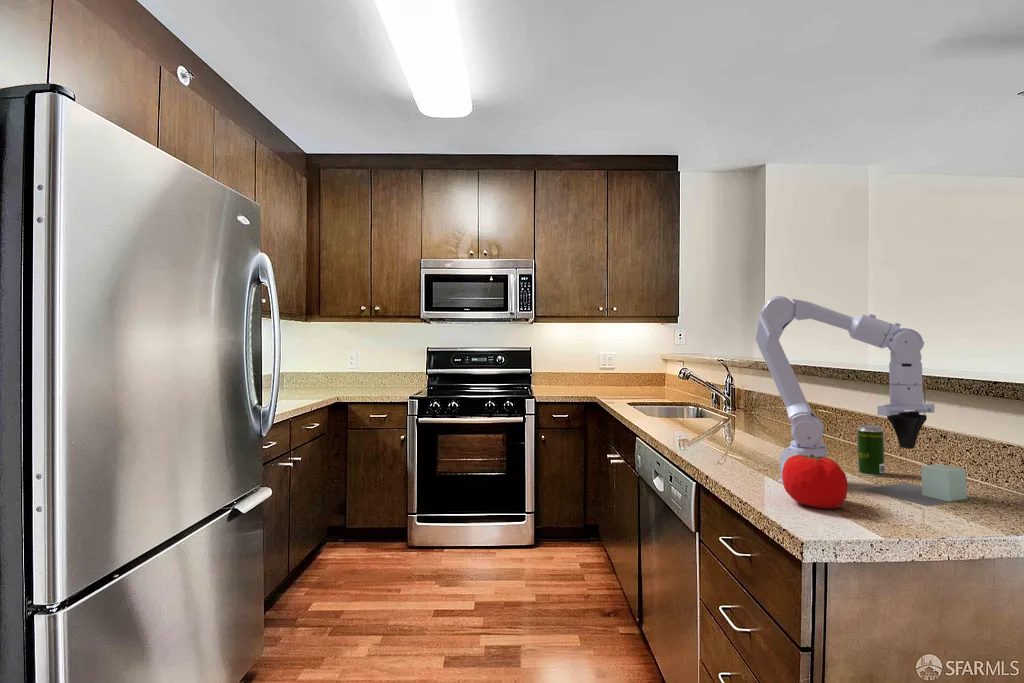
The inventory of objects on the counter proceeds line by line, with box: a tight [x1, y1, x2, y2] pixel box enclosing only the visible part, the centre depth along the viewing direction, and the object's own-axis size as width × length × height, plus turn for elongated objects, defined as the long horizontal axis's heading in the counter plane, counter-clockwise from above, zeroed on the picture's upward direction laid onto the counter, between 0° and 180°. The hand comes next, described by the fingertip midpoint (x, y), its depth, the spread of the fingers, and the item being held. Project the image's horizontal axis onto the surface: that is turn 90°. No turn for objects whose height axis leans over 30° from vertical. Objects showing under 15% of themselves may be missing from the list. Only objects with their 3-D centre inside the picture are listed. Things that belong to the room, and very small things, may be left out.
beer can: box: [856, 424, 886, 477], centre depth 131 cm, size 5×5×12 cm
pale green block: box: [920, 463, 968, 503], centre depth 110 cm, size 5×5×6 cm
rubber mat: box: [860, 482, 975, 507], centre depth 113 cm, size 14×14×1 cm
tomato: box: [782, 454, 849, 510], centre depth 108 cm, size 11×13×10 cm
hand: (907, 447), depth 115 cm, fingers closed
